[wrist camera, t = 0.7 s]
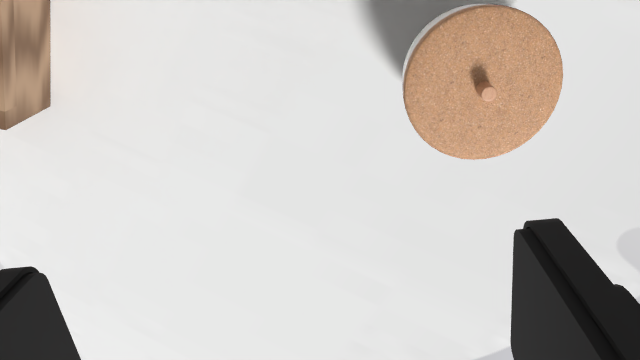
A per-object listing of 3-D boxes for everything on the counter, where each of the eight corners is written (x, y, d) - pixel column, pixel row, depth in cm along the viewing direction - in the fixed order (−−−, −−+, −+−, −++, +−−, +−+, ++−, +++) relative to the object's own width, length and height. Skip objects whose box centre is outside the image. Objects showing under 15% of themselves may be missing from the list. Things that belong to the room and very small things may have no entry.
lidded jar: (382, 116, 44) (391, 157, 35) (409, -15, 39) (427, -5, 31) (504, 135, 44) (542, 179, 36) (544, 6, 40) (599, 22, 31)
